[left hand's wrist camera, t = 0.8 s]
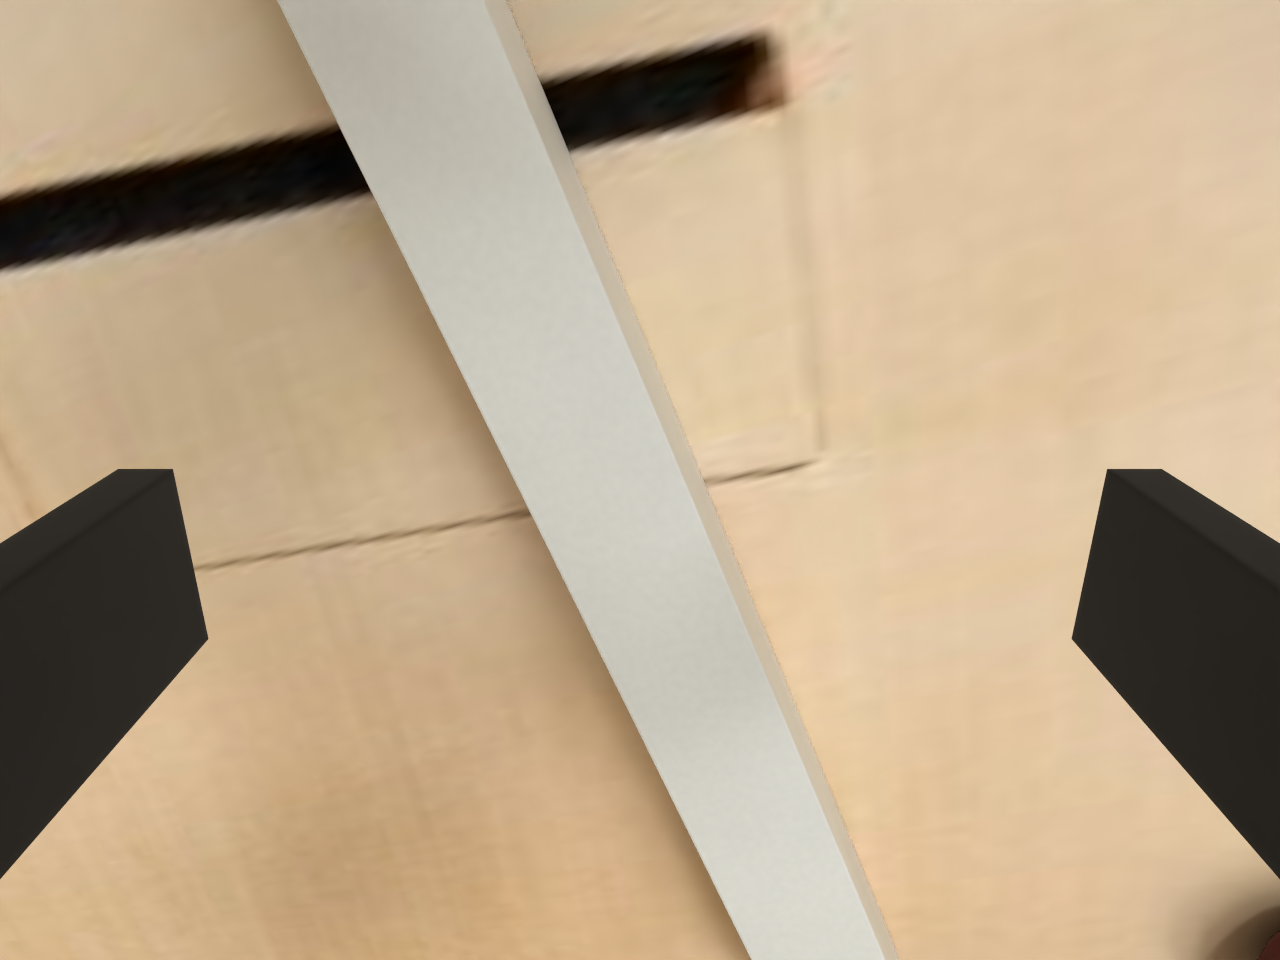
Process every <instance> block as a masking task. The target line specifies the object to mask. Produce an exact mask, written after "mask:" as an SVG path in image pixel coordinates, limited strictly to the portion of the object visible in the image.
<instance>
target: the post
mask: <svg viewBox="0 0 1280 960" xmlns="http://www.w3.org/2000/svg"><path fill="white" fill-rule="evenodd" d="M277 2H278V4H279V6H280V8H281V10H282V12H283V14H284V16H285V18H286V20H287V22H288V24H289V26H290V28H291V30H292V32H293V34H294V36H295V38H296V40H297V42H298V44H299V46H300V48H301V50H302V52H303V54H304V56H305V58H306V60H307V62H308V64H309V66H310V68H311V70H312V72H313V74H314V76H315V78H316V80H317V82H318V84H319V86H320V89H321V91H322V93H323V95H324V97H325V99H326V101H327V103H328V105H329V107H330V109H331V111H332V113H333V115H334V117H335V119H336V121H337V123H338V125H339V127H340V129H341V131H342V133H343V135H344V137H345V139H346V141H347V143H348V145H349V147H350V149H351V151H352V153H353V155H354V157H355V159H356V161H357V163H358V165H359V167H360V169H361V171H362V173H363V176H364V178H365V180H366V182H367V184H368V186H369V188H370V190H371V192H372V194H373V196H374V198H375V200H376V202H377V204H378V206H379V208H380V210H381V212H382V214H383V216H384V218H385V220H386V222H387V224H388V226H389V228H390V230H391V232H392V234H393V236H394V238H395V240H396V242H397V244H398V246H399V248H400V250H401V252H402V254H403V256H404V258H405V260H406V262H407V265H408V267H409V269H410V271H411V273H412V275H413V277H414V279H415V281H416V283H417V285H418V287H419V289H420V291H421V293H422V295H423V297H424V299H425V301H426V303H427V305H428V307H429V309H430V311H431V313H432V315H433V317H434V319H435V321H436V323H437V325H438V327H439V329H440V331H441V333H442V335H443V337H444V339H445V341H446V343H447V345H448V347H449V349H450V352H451V354H452V356H453V358H454V360H455V362H456V364H457V366H458V368H459V370H460V372H461V374H462V376H463V378H464V380H465V382H466V384H467V386H468V388H469V390H470V392H471V394H472V396H473V398H474V400H475V402H476V404H477V406H478V408H479V410H480V412H481V414H482V416H483V418H484V420H485V422H486V424H487V426H488V428H489V430H490V432H491V434H492V436H493V439H494V441H495V443H496V445H497V447H498V449H499V451H500V453H501V455H502V457H503V459H504V461H505V463H506V465H507V467H508V469H509V471H510V473H511V475H512V477H513V479H514V481H515V483H516V485H517V487H518V489H519V491H520V493H521V495H522V497H523V499H524V501H525V503H526V505H527V507H528V509H529V511H530V513H531V515H532V517H533V519H534V521H535V523H536V525H537V528H538V530H539V532H540V534H541V536H542V538H543V540H544V542H545V544H546V546H547V548H548V550H549V552H550V554H551V556H552V558H553V560H554V562H555V564H556V566H557V568H558V570H559V572H560V574H561V576H562V578H563V580H564V582H565V584H566V586H567V588H568V590H569V592H570V594H571V596H572V598H573V600H574V602H575V604H576V606H577V608H578V610H579V612H580V615H581V617H582V619H583V621H584V623H585V625H586V627H587V629H588V631H589V633H590V635H591V637H592V639H593V641H594V643H595V645H596V647H597V649H598V651H599V653H600V655H601V657H602V659H603V661H604V663H605V665H606V667H607V669H608V671H609V673H610V675H611V677H612V679H613V681H614V683H615V685H616V687H617V689H618V691H619V693H620V695H621V697H622V699H623V701H624V704H625V706H626V708H627V710H628V712H629V714H630V716H631V718H632V720H633V722H634V724H635V726H636V728H637V730H638V732H639V734H640V736H641V738H642V740H643V742H644V744H645V746H646V748H647V750H648V752H649V754H650V756H651V758H652V760H653V762H654V764H655V766H656V768H657V770H658V772H659V774H660V776H661V778H662V780H663V782H664V784H665V786H666V788H667V791H668V793H669V795H670V797H671V799H672V801H673V803H674V805H675V807H676V809H677V811H678V813H679V815H680V817H681V819H682V821H683V823H684V825H685V827H686V829H687V831H688V833H689V835H690V837H691V839H692V841H693V843H694V845H695V847H696V849H697V851H698V853H699V855H700V857H701V859H702V861H703V863H704V865H705V867H706V869H707V871H708V873H709V875H710V878H711V880H712V882H713V884H714V886H715V888H716V890H717V892H718V894H719V896H720V898H721V900H722V902H723V904H724V906H725V908H726V910H727V912H728V914H729V916H730V918H731V920H732V922H733V924H734V926H735V928H736V930H737V932H738V934H739V936H740V938H741V940H742V942H743V944H744V946H745V948H746V950H747V952H748V954H749V956H750V958H751V960H899V957H898V954H897V951H896V948H895V946H894V943H893V941H892V938H891V936H890V933H889V931H888V928H887V926H886V924H885V921H884V919H883V916H882V914H881V911H880V909H879V907H878V904H877V902H876V899H875V897H874V894H873V892H872V890H871V887H870V885H869V882H868V880H867V877H866V875H865V872H864V870H863V868H862V865H861V863H860V860H859V858H858V855H857V853H856V851H855V848H854V846H853V843H852V841H851V838H850V836H849V833H848V831H847V829H846V826H845V824H844V821H843V819H842V816H841V814H840V812H839V809H838V807H837V804H836V802H835V799H834V797H833V795H832V792H831V790H830V787H829V785H828V782H827V780H826V777H825V775H824V773H823V770H822V768H821V765H820V763H819V760H818V758H817V756H816V753H815V751H814V748H813V746H812V743H811V741H810V739H809V736H808V734H807V731H806V729H805V726H804V724H803V721H802V719H801V717H800V714H799V712H798V709H797V707H796V704H795V702H794V700H793V697H792V695H791V692H790V690H789V687H788V685H787V682H786V680H785V678H784V675H783V673H782V670H781V668H780V665H779V663H778V661H777V658H776V656H775V653H774V651H773V648H772V646H771V644H770V641H769V639H768V636H767V634H766V631H765V629H764V626H763V624H762V622H761V619H760V617H759V614H758V612H757V609H756V607H755V605H754V602H753V600H752V597H751V595H750V592H749V590H748V588H747V585H746V583H745V580H744V578H743V575H742V573H741V570H740V568H739V566H738V563H737V561H736V558H735V556H734V553H733V551H732V549H731V546H730V544H729V541H728V539H727V536H726V534H725V531H724V529H723V527H722V524H721V522H720V519H719V517H718V514H717V512H716V510H715V507H714V505H713V502H712V500H711V497H710V495H709V493H708V490H707V488H706V485H705V483H704V480H703V478H702V475H701V473H700V471H699V468H698V466H697V463H696V461H695V458H694V456H693V454H692V451H691V449H690V446H689V444H688V441H687V439H686V437H685V434H684V432H683V429H682V427H681V424H680V422H679V419H678V417H677V415H676V412H675V410H674V407H673V405H672V402H671V400H670V398H669V395H668V393H667V390H666V388H665V385H664V383H663V381H662V378H661V376H660V373H659V371H658V368H657V366H656V363H655V361H654V359H653V356H652V354H651V351H650V349H649V346H648V344H647V342H646V339H645V337H644V334H643V332H642V329H641V327H640V324H639V322H638V320H637V317H636V315H635V312H634V310H633V307H632V305H631V303H630V300H629V298H628V295H627V293H626V290H625V288H624V286H623V283H622V281H621V278H620V276H619V273H618V271H617V268H616V266H615V264H614V261H613V259H612V256H611V254H610V251H609V249H608V247H607V244H606V242H605V239H604V237H603V234H602V232H601V230H600V227H599V225H598V222H597V220H596V217H595V215H594V212H593V210H592V208H591V205H590V203H589V200H588V198H587V195H586V193H585V191H584V188H583V186H582V183H581V181H580V178H579V176H578V173H577V171H576V169H575V166H574V164H573V161H572V159H571V156H570V154H569V152H568V149H567V147H566V144H565V142H564V139H563V137H562V135H561V132H560V130H559V127H558V125H557V122H556V120H555V117H554V115H553V113H552V110H551V108H550V105H549V103H548V100H547V98H546V96H545V93H544V91H543V88H542V86H541V83H540V81H539V79H538V76H537V74H536V71H535V69H534V66H533V64H532V61H531V59H530V57H529V54H528V52H527V49H526V47H525V44H524V42H523V40H522V37H521V35H520V32H519V30H518V27H517V25H516V22H515V20H514V18H513V15H512V13H511V10H510V8H509V5H508V3H507V1H506V0H277Z"/></svg>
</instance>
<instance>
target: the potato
mask: <svg viewBox="0 0 1280 960" xmlns="http://www.w3.org/2000/svg"><path fill="white" fill-rule="evenodd" d="M1257 960H1280V931H1279V932H1278V933H1276V934H1275V935H1273V936H1272V937H1271V938H1270V940H1269V941H1268V943H1267V945H1266V946H1265V948H1264V950H1263V951H1262V953H1261V954H1260V956H1259V957H1258V959H1257Z"/></svg>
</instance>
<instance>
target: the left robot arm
mask: <svg viewBox="0 0 1280 960" xmlns="http://www.w3.org/2000/svg"><path fill="white" fill-rule="evenodd" d="M207 640H208V635H207V630H206V626H205V621H204V616H203V611H202V607H201V602H200V597H199V592H198V587H197V583H196V578H195V573H194V568H193V563H192V559H191V554H190V549H189V544H188V540H187V535H186V530H185V525H184V520H183V516H182V511H181V506H180V501H179V496H178V492H177V487H176V482H175V477H174V473H173V469H118V470H116V471H114V472H113V473H111V474H110V475H108V476H107V477H105V478H103V479H102V480H100V481H99V482H97V483H95V484H94V485H92V486H91V487H89V488H87V489H86V490H84V491H83V492H81V493H80V494H78V495H76V496H75V497H73V498H72V499H70V500H68V501H67V502H65V503H64V504H62V505H60V506H59V507H57V508H56V509H54V510H53V511H51V512H49V513H48V514H46V515H45V516H43V517H41V518H40V519H38V520H37V521H35V522H33V523H32V524H30V525H29V526H27V527H26V528H24V529H22V530H21V531H19V532H18V533H16V534H14V535H13V536H11V537H10V538H8V539H6V540H5V541H3V542H2V543H0V879H1V878H2V876H3V875H4V874H5V873H6V872H7V871H8V869H9V868H10V867H11V866H12V865H13V864H14V863H15V861H16V860H17V859H18V858H19V857H20V856H21V854H22V853H23V852H24V851H25V850H26V849H27V848H28V846H29V845H30V844H31V843H32V842H33V841H34V839H35V838H36V837H37V836H38V835H39V834H40V833H41V831H42V830H43V829H44V828H45V827H46V826H47V824H48V823H49V822H50V821H51V820H52V819H53V818H54V816H55V815H56V814H57V813H58V812H59V811H60V809H61V808H62V807H63V806H64V805H65V804H66V803H67V801H68V800H69V799H70V798H71V797H72V796H73V794H74V793H75V792H76V791H77V790H78V789H79V788H80V786H81V785H82V784H83V783H84V782H85V781H86V779H87V778H88V777H89V776H90V775H91V774H92V773H93V771H94V770H95V769H96V768H97V767H98V766H99V764H100V763H101V762H102V761H103V760H104V759H105V758H106V756H107V755H108V754H109V753H110V752H111V751H112V749H113V748H114V747H115V746H116V745H117V744H118V743H119V741H120V740H121V739H122V738H123V737H124V736H125V734H126V733H127V732H128V731H129V730H130V729H131V728H132V726H133V725H134V724H135V723H136V722H137V721H138V719H139V718H140V717H141V716H142V715H143V714H144V712H145V711H146V710H147V709H148V708H149V707H150V706H151V704H152V703H153V702H154V701H155V700H156V699H157V697H158V696H159V695H160V694H161V693H162V692H163V691H164V689H165V688H166V687H167V686H168V685H169V684H170V682H171V681H172V680H173V679H174V678H175V677H176V676H177V674H178V673H179V672H180V671H181V670H182V669H183V667H184V666H185V665H186V664H187V663H188V662H189V661H190V659H191V658H192V657H193V656H194V655H195V654H196V652H197V651H198V650H199V649H200V648H201V647H202V646H203V644H204V643H205V642H206V641H207ZM1072 640H1073V641H1074V642H1075V643H1076V644H1077V646H1078V647H1079V648H1080V649H1081V650H1082V651H1083V652H1084V654H1085V655H1086V656H1087V657H1088V658H1089V659H1090V661H1091V662H1092V663H1093V664H1094V665H1095V666H1096V667H1097V669H1098V670H1099V671H1100V672H1101V673H1102V674H1103V676H1104V677H1105V678H1106V679H1107V680H1108V681H1109V682H1110V684H1111V685H1112V686H1113V687H1114V688H1115V689H1116V691H1117V692H1118V693H1119V694H1120V695H1121V696H1122V697H1123V699H1124V700H1125V701H1126V702H1127V703H1128V704H1129V706H1130V707H1131V708H1132V709H1133V710H1134V711H1135V712H1136V714H1137V715H1138V716H1139V717H1140V718H1141V719H1142V721H1143V722H1144V723H1145V724H1146V725H1147V726H1148V728H1149V729H1150V730H1151V731H1152V732H1153V733H1154V734H1155V736H1156V737H1157V738H1158V739H1159V740H1160V741H1161V743H1162V744H1163V745H1164V746H1165V747H1166V748H1167V749H1168V751H1169V752H1170V753H1171V754H1172V755H1173V756H1174V758H1175V759H1176V760H1177V761H1178V762H1179V763H1180V764H1181V766H1182V767H1183V768H1184V769H1185V770H1186V771H1187V773H1188V774H1189V775H1190V776H1191V777H1192V778H1193V779H1194V781H1195V782H1196V783H1197V784H1198V785H1199V786H1200V788H1201V789H1202V790H1203V791H1204V792H1205V793H1206V794H1207V796H1208V797H1209V798H1210V799H1211V800H1212V801H1213V803H1214V804H1215V805H1216V806H1217V807H1218V808H1219V809H1220V811H1221V812H1222V813H1223V814H1224V815H1225V816H1226V818H1227V819H1228V820H1229V821H1230V822H1231V823H1232V824H1233V826H1234V827H1235V828H1236V829H1237V830H1238V831H1239V833H1240V834H1241V835H1242V836H1243V837H1244V838H1245V839H1246V841H1247V842H1248V843H1249V844H1250V845H1251V846H1252V848H1253V849H1254V850H1255V851H1256V852H1257V853H1258V854H1259V856H1260V857H1261V858H1262V859H1263V860H1264V861H1265V863H1266V864H1267V865H1268V866H1269V867H1270V868H1271V869H1272V871H1273V872H1274V873H1275V874H1276V875H1277V876H1278V878H1279V879H1280V543H1278V542H1277V541H1275V540H1274V539H1272V538H1270V537H1269V536H1267V535H1266V534H1264V533H1262V532H1261V531H1259V530H1258V529H1256V528H1254V527H1253V526H1251V525H1250V524H1248V523H1247V522H1245V521H1243V520H1242V519H1240V518H1239V517H1237V516H1235V515H1234V514H1232V513H1231V512H1229V511H1227V510H1226V509H1224V508H1223V507H1221V506H1220V505H1218V504H1216V503H1215V502H1213V501H1212V500H1210V499H1208V498H1207V497H1205V496H1204V495H1202V494H1200V493H1199V492H1197V491H1196V490H1194V489H1193V488H1191V487H1189V486H1188V485H1186V484H1185V483H1183V482H1181V481H1180V480H1178V479H1177V478H1175V477H1173V476H1172V475H1170V474H1169V473H1167V472H1166V471H1164V470H1162V469H1107V473H1106V477H1105V482H1104V487H1103V492H1102V496H1101V501H1100V506H1099V511H1098V516H1097V520H1096V525H1095V530H1094V535H1093V540H1092V544H1091V549H1090V554H1089V559H1088V563H1087V568H1086V573H1085V578H1084V583H1083V587H1082V592H1081V597H1080V602H1079V606H1078V611H1077V616H1076V621H1075V626H1074V630H1073V635H1072Z"/></svg>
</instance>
